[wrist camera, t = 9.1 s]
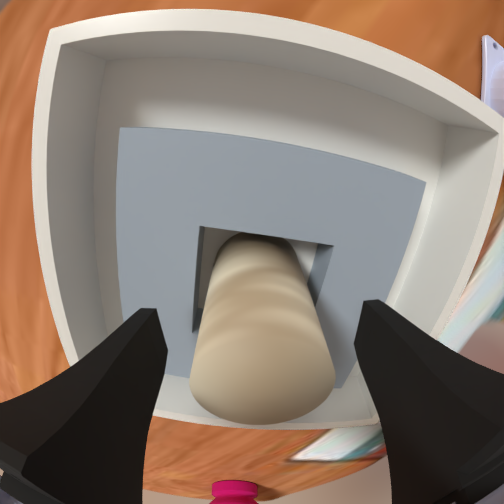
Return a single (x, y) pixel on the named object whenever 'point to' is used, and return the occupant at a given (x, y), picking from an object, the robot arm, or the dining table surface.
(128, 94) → the tray
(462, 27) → the dining table surface
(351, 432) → the dining table surface
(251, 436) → the dining table surface
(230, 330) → the peg
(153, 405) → the robot arm
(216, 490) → the pepper mill
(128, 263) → the bore plate
